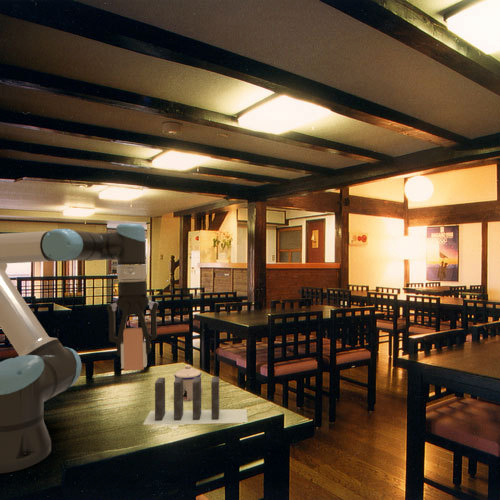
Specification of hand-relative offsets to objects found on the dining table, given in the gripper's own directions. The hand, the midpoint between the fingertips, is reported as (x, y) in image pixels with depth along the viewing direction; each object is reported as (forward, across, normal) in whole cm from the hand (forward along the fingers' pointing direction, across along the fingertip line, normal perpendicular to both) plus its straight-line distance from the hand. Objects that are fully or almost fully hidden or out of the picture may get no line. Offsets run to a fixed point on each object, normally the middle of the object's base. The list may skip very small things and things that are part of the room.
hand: (134, 366), depth 106 cm
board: (+20, +17, +9) cm, 27 cm away
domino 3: (+18, +11, +9) cm, 24 cm away
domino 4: (+19, +17, +9) cm, 26 cm away
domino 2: (+18, +6, +10) cm, 22 cm away
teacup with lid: (+20, +15, +25) cm, 35 cm away
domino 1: (+1, 0, 0) cm, 1 cm away
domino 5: (+19, +22, +8) cm, 30 cm away
